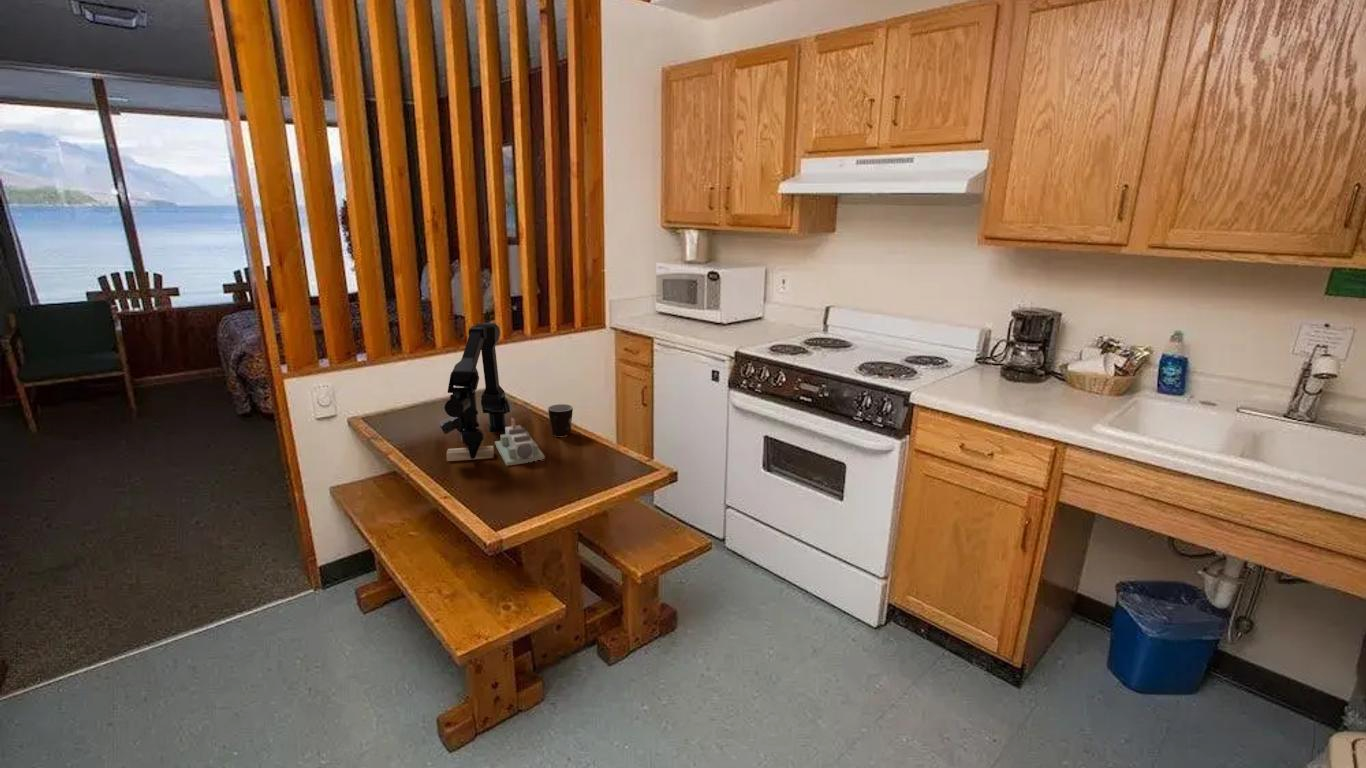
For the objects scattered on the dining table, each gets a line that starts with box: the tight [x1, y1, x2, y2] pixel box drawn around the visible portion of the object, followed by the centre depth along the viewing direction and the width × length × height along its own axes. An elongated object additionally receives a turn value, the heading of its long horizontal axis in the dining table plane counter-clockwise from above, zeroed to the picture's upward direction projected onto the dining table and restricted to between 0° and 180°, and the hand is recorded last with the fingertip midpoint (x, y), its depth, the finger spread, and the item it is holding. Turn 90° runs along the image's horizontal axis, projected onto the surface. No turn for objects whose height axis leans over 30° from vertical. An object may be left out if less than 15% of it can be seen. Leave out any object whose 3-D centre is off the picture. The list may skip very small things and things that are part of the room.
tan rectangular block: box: [445, 445, 495, 462], centre depth 195 cm, size 4×14×3 cm, turn 105°
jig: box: [494, 417, 546, 467], centre depth 199 cm, size 21×12×9 cm, turn 27°
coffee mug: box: [547, 403, 574, 436], centre depth 215 cm, size 12×9×10 cm
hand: (470, 453), depth 195 cm, fingers open, 9 cm apart
